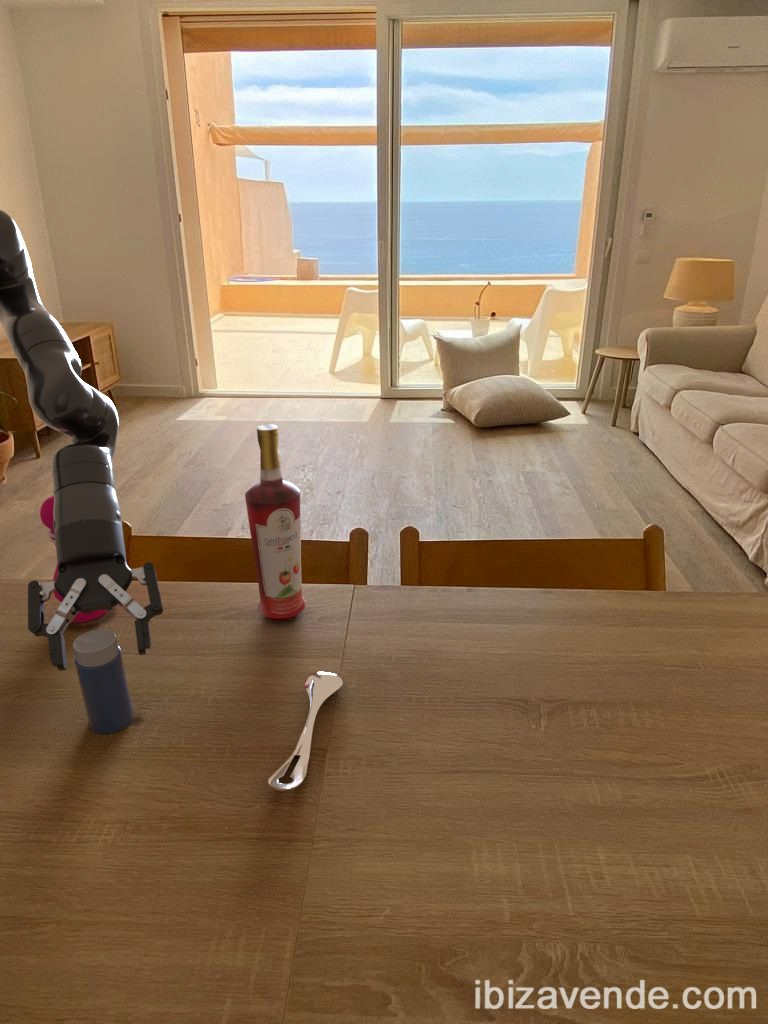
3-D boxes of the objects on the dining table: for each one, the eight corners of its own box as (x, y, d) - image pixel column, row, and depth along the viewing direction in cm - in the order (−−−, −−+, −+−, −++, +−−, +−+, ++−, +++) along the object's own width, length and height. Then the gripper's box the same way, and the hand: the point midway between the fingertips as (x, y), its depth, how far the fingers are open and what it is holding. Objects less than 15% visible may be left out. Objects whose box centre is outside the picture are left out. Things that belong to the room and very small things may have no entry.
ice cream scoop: (301, 776, 67) (254, 769, 67) (302, 805, 68) (256, 798, 69) (348, 662, 85) (311, 658, 86) (349, 687, 86) (312, 682, 87)
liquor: (299, 595, 105) (286, 416, 93) (314, 619, 99) (303, 431, 87) (251, 606, 102) (232, 423, 91) (264, 631, 96) (245, 439, 85)
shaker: (82, 733, 78) (62, 653, 74) (99, 705, 82) (82, 627, 78) (124, 734, 78) (107, 653, 73) (139, 706, 82) (124, 628, 78)
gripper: (153, 530, 89) (170, 655, 84) (31, 547, 85) (41, 679, 80) (147, 508, 82) (166, 642, 77) (15, 526, 78) (25, 668, 73)
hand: (102, 661), depth 78 cm, fingers open, 8 cm apart
